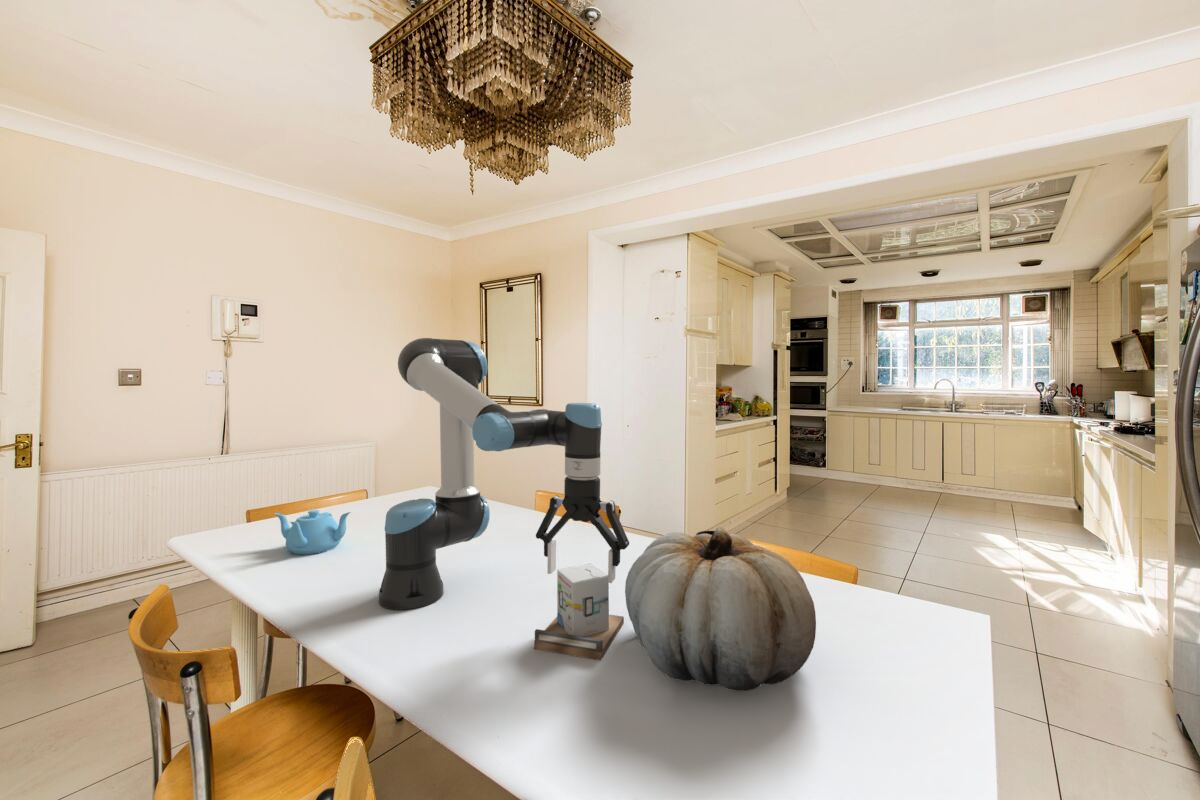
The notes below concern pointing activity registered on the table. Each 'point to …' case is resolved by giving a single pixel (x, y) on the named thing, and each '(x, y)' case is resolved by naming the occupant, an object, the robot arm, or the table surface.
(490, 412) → the robot arm
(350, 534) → the table surface
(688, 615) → the pumpkin
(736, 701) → the table surface
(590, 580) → the ink box
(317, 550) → the teapot
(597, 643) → the brown flat block
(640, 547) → the table surface
